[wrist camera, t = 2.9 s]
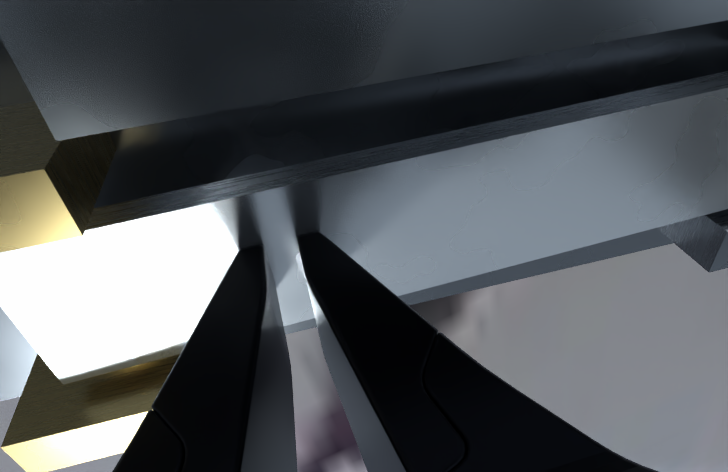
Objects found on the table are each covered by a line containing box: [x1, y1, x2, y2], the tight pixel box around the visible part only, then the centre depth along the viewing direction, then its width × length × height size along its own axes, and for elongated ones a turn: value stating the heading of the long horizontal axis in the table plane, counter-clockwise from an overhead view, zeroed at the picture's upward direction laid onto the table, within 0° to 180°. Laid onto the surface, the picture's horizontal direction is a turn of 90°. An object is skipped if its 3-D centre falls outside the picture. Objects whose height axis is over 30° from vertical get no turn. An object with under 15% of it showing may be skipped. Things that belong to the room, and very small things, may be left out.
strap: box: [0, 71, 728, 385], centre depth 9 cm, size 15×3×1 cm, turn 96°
